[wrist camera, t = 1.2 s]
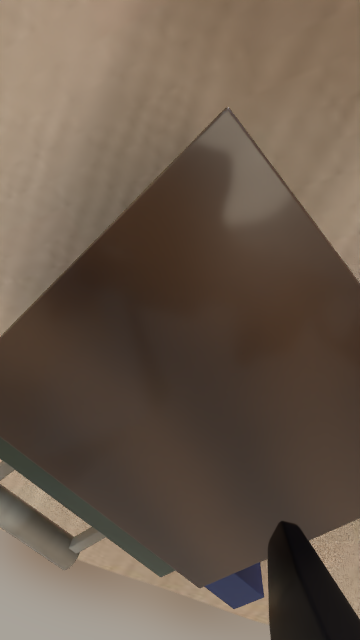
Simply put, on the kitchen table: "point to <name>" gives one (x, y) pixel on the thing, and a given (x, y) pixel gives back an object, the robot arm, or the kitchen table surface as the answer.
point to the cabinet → (198, 366)
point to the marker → (239, 587)
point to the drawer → (46, 535)
